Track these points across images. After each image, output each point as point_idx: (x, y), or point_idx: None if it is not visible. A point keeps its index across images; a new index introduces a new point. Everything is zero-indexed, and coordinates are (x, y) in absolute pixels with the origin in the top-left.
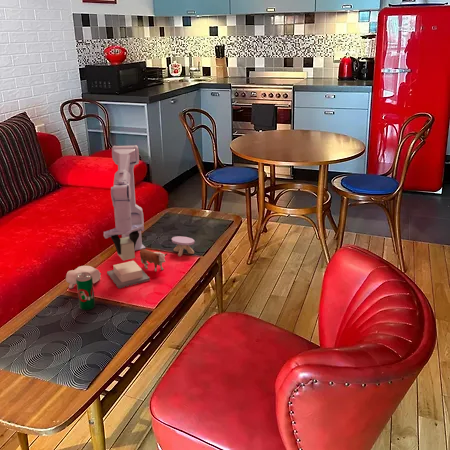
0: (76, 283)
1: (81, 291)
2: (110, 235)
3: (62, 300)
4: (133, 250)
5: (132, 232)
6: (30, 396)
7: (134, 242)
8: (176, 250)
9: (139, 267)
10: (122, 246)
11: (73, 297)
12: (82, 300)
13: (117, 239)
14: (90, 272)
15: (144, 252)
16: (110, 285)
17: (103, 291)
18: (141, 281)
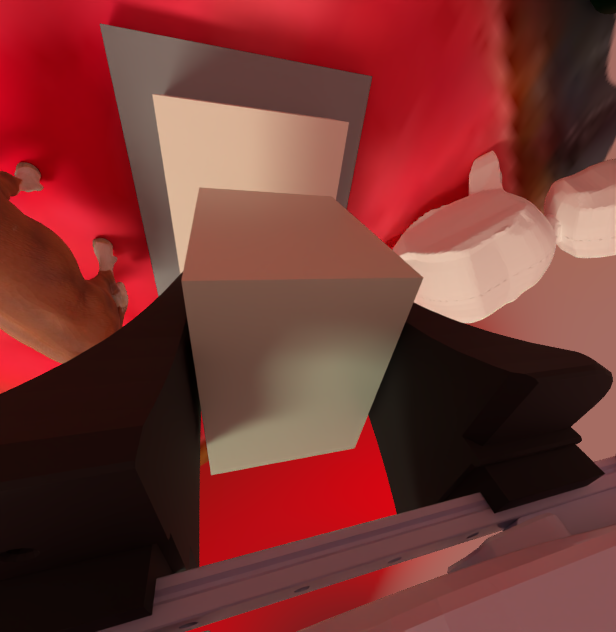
0: (605, 161)
1: None
2: (601, 492)
3: (592, 149)
4: (208, 221)
5: (131, 591)
6: None
7: (154, 329)
8: None
9: (167, 161)
10: (404, 266)
11: (554, 146)
12: None
13: (579, 374)
14: (510, 223)
15: (69, 320)
16: (375, 157)
17: (441, 106)
18: (189, 41)
